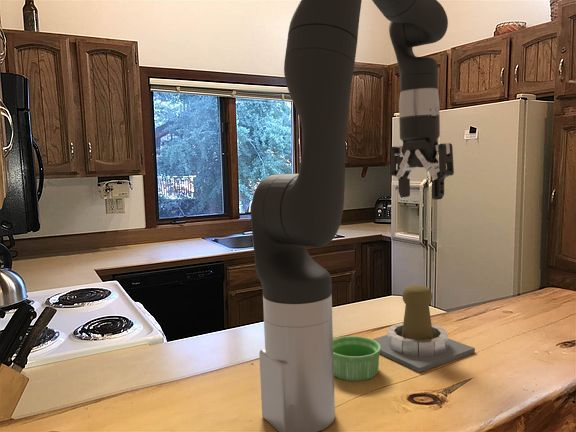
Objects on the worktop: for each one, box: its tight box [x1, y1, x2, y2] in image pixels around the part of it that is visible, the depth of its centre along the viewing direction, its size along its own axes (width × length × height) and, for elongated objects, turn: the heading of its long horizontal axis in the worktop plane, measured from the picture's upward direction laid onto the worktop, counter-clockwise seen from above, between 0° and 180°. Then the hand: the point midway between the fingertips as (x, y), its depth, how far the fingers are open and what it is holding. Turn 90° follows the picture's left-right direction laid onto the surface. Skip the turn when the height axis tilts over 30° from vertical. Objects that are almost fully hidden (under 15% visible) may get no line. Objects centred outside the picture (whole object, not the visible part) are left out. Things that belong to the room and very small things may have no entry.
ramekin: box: [333, 335, 381, 382], centre depth 77 cm, size 9×9×4 cm
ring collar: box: [386, 322, 449, 357], centre depth 85 cm, size 10×10×2 cm
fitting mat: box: [371, 334, 476, 374], centre depth 85 cm, size 14×14×1 cm
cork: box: [402, 284, 433, 340], centre depth 85 cm, size 6×6×11 cm
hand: (420, 198), depth 92 cm, fingers open, 8 cm apart
